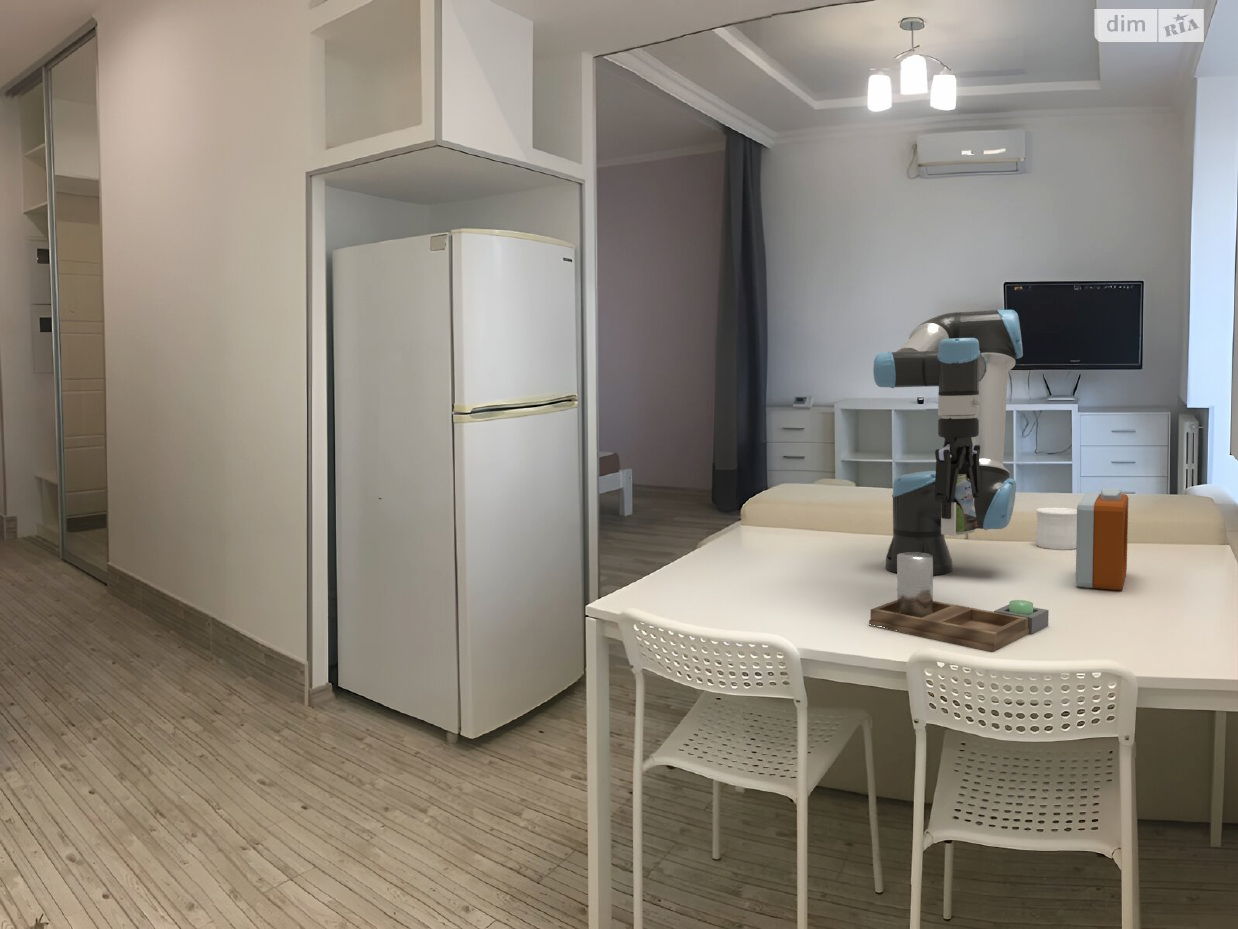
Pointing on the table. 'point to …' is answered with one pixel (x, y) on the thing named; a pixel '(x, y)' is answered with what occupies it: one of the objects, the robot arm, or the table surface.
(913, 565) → the seated billet
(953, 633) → the wooden divided tray
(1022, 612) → the button
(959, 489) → the beverage can
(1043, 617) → the button housing
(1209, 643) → the table surface
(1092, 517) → the orange and grey box
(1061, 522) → the cup
